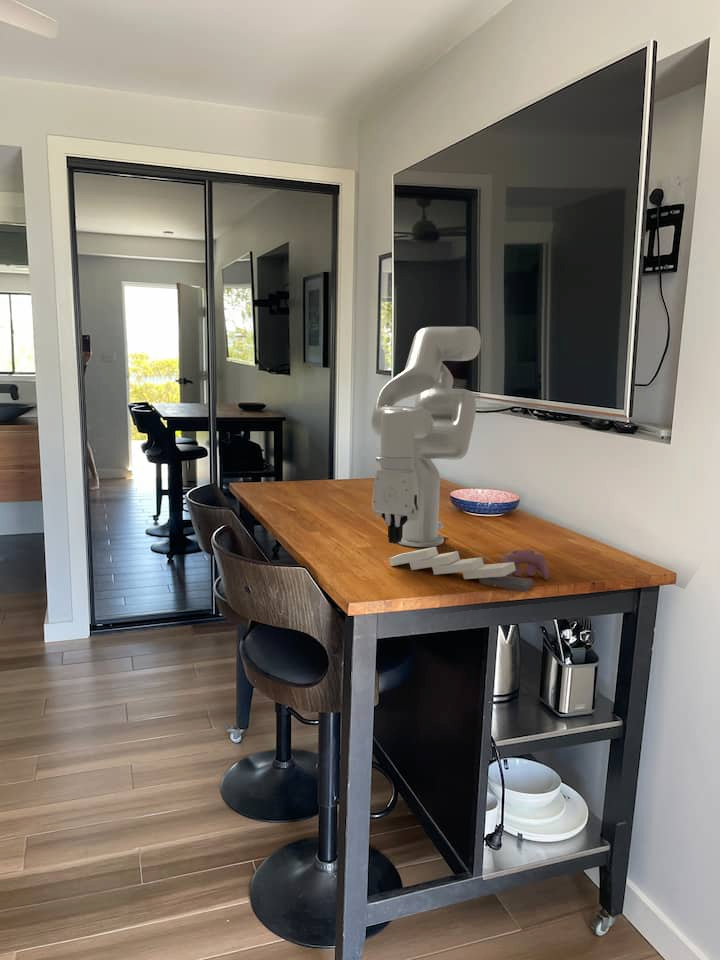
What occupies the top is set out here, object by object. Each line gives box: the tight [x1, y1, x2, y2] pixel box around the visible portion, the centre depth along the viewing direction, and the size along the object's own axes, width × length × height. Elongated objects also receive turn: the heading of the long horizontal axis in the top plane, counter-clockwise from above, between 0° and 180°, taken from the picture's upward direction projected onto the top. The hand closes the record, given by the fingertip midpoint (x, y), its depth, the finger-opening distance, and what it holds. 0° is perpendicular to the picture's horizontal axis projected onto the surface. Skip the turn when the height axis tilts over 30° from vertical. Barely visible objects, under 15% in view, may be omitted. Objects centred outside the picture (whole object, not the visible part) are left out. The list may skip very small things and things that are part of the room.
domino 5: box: [478, 575, 534, 593], centre depth 153 cm, size 2×5×10 cm
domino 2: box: [409, 550, 461, 571], centre depth 161 cm, size 2×5×10 cm
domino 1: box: [388, 546, 439, 567], centre depth 164 cm, size 2×5×10 cm
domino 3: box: [431, 557, 485, 575], centre depth 158 cm, size 2×5×10 cm
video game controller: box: [501, 549, 550, 581], centre depth 158 cm, size 10×5×7 cm, turn 93°
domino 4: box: [462, 562, 516, 580], centre depth 153 cm, size 2×5×10 cm
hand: (395, 541), depth 167 cm, fingers closed
